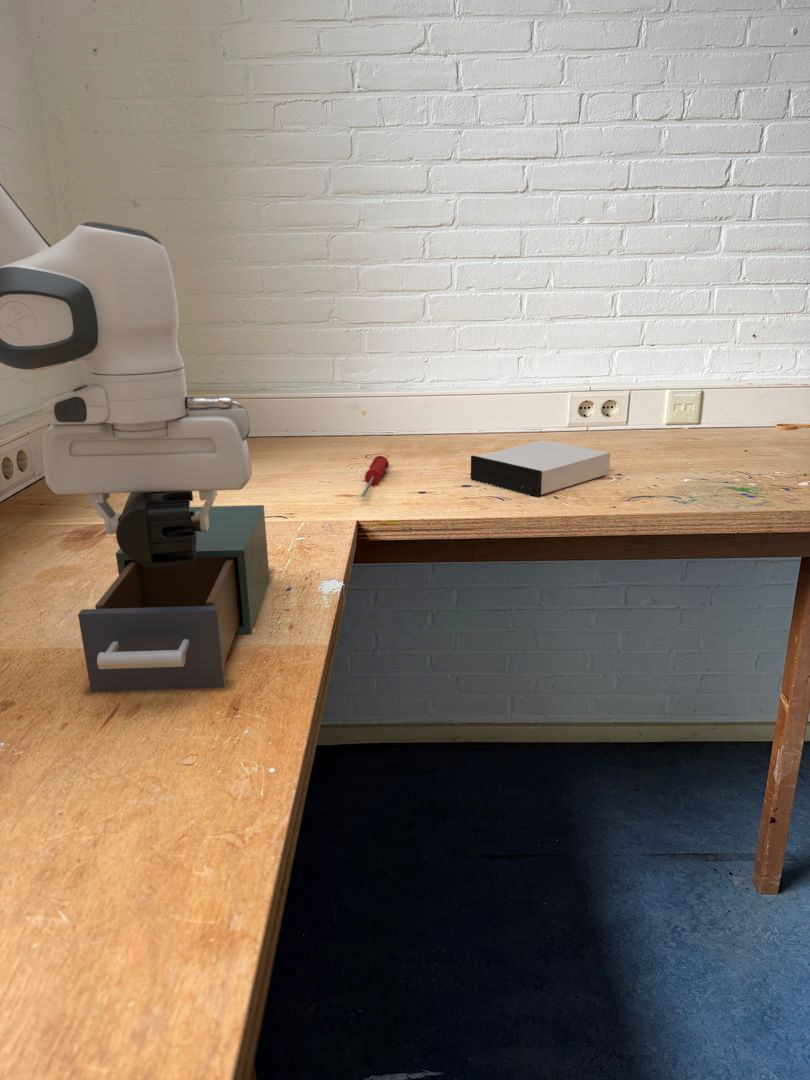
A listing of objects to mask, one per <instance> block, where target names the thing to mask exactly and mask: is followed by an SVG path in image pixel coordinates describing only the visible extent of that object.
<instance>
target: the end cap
mask: <svg viewBox="0 0 810 1080" xmlns="http://www.w3.org/2000/svg"><path fill="white" fill-rule="evenodd" d="M193 496H194V495H193V491H172V492H134V493H129V494H128V497H127V500H126V502H125V504H124V506H123V510H122V512H121V513H122V515H121V517H120V520H119V523H118V525H117V530H116V534H115V538H116V542H117V546H118V547H119V549H121V550H122V552H123V553H124V554H125V555H126V556H127V557H129V558H130V559H132V560H134V561H136V562H138V563H139V564H141V565H143V566H145V567H147V568H154V569H157V568H169V567H181V566H190V565H193V564H194V563H195V553H196V541H197V535H196V532H193V531H192V526H193V524H192V523H191V516H192V515H193V513H194V511H189V507H191V502H193V501H194V497H193Z"/></svg>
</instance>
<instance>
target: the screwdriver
mask: <svg viewBox="0 0 810 1080" xmlns="http://www.w3.org/2000/svg"><path fill="white" fill-rule="evenodd" d="M389 465H390V463H389V460H388V458H386V457H385V456H383V455H377V456H375V457H374V458H373V459H372V462H371V464H370V465H369V470H367V471H366V472H365V474H364V480H365V482H366V484H367V485H366V487H365V489H364V490H363V491H362V493H361V494H360V496H361V498H365V497H366V496H367V493H368V490H369V489H370V487H371V486H377V485H379V484H380V482H381V481H382V478H383V476H384V475H385V473H386V471H387V470H388V469H389Z"/></svg>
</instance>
